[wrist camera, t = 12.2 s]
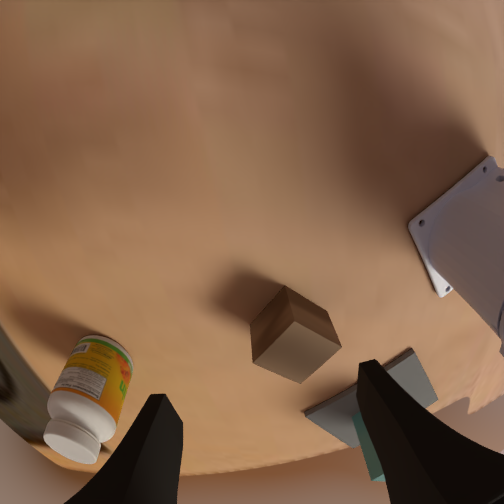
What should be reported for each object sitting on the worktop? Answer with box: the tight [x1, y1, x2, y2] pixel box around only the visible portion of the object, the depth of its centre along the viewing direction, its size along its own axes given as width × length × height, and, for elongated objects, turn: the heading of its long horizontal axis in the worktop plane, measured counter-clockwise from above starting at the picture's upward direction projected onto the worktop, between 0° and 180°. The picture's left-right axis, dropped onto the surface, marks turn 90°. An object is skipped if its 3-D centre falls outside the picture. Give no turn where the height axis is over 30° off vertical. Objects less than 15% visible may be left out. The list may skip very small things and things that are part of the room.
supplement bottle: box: [43, 335, 133, 464], centre depth 18 cm, size 5×5×10 cm
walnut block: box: [250, 286, 342, 384], centre depth 20 cm, size 4×4×4 cm
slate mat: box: [304, 349, 438, 448], centre depth 27 cm, size 12×12×1 cm
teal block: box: [352, 411, 385, 481], centre depth 23 cm, size 4×4×8 cm
